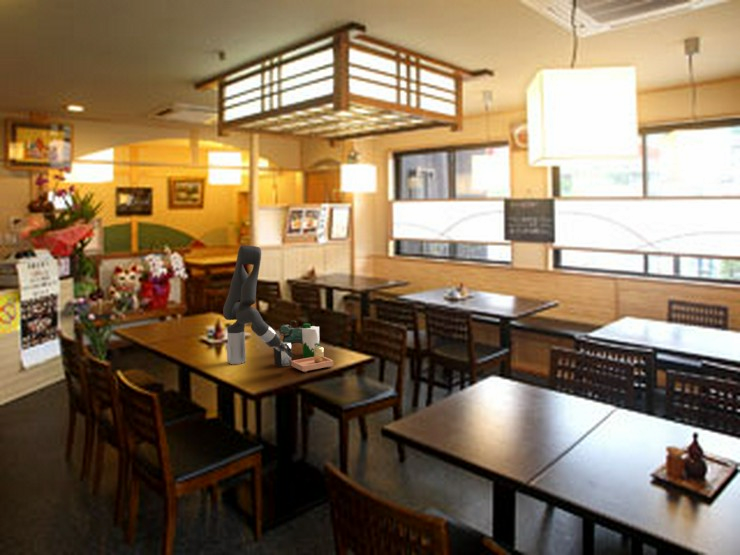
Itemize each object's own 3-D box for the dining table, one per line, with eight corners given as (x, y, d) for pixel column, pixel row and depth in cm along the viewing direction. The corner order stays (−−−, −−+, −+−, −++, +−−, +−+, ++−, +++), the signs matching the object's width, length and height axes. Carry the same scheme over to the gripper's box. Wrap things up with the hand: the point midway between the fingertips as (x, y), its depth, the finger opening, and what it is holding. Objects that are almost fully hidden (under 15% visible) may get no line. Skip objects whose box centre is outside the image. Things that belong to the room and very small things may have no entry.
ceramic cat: (279, 354, 313) (278, 320, 311) (284, 351, 319) (282, 318, 317) (312, 356, 308) (311, 321, 306) (315, 353, 315) (314, 319, 312)
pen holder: (288, 361, 298) (287, 343, 296) (294, 365, 289) (293, 347, 288) (271, 364, 293) (271, 346, 292) (277, 368, 285) (276, 349, 284)
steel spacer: (284, 366, 271) (283, 345, 270) (279, 364, 276) (279, 343, 274) (293, 364, 274) (292, 343, 273) (288, 362, 278) (288, 341, 277)
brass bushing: (317, 364, 283) (316, 349, 282) (312, 362, 287) (312, 347, 286) (325, 362, 286) (325, 347, 285) (320, 360, 290) (320, 345, 289)
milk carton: (306, 356, 307) (305, 322, 305) (321, 357, 305) (320, 322, 303) (301, 360, 299) (300, 325, 296) (317, 361, 297) (316, 325, 295)
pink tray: (302, 373, 274) (302, 366, 274) (291, 368, 285) (291, 360, 284) (333, 367, 284) (333, 360, 284) (321, 362, 295) (321, 355, 294)
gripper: (281, 332, 262) (301, 351, 272) (265, 327, 272) (285, 346, 282) (272, 344, 259) (293, 363, 269) (256, 339, 269) (277, 358, 279)
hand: (289, 354), depth 276 cm, fingers closed on steel spacer, 5 cm apart
